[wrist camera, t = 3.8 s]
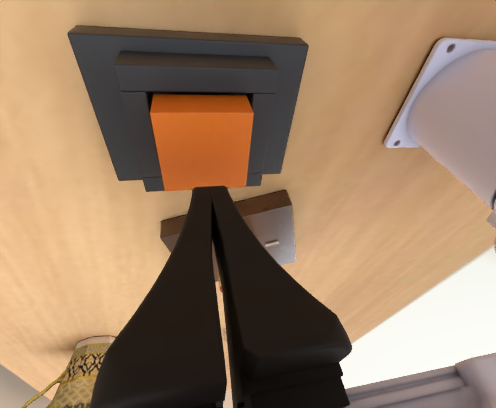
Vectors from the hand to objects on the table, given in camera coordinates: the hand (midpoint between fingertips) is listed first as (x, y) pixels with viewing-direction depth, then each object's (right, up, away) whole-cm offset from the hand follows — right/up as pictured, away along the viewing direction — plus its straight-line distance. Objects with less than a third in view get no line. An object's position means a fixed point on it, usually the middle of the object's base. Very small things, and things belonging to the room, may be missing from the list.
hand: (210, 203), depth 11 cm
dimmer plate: (0, -3, +16) cm, 17 cm away
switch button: (-1, +4, +4) cm, 6 cm away
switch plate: (-2, +6, +6) cm, 9 cm away
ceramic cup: (-24, -22, +30) cm, 44 cm away
